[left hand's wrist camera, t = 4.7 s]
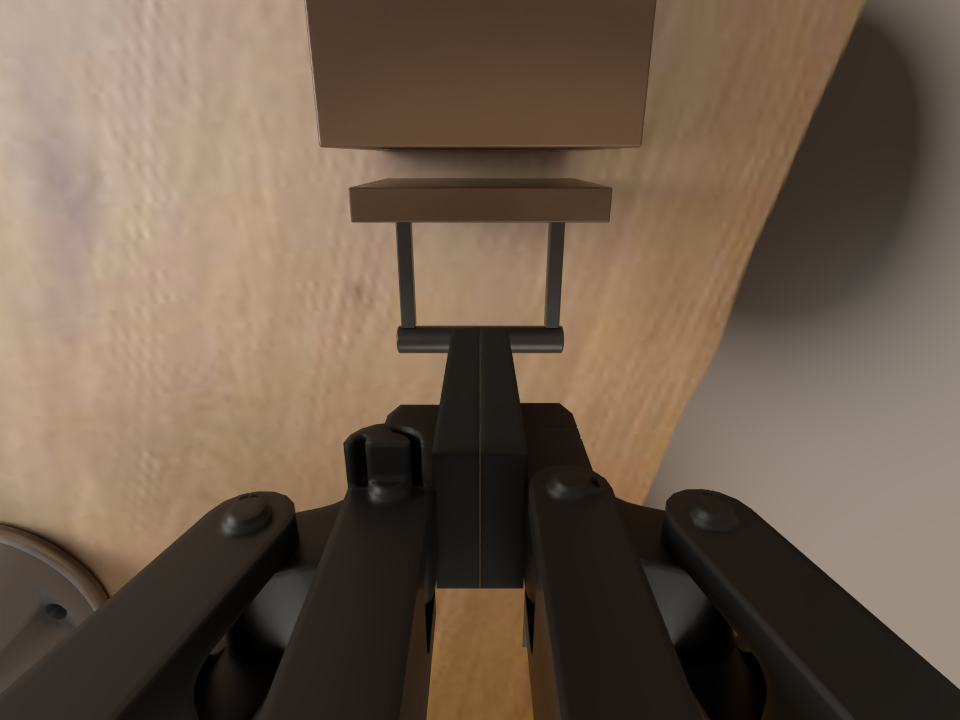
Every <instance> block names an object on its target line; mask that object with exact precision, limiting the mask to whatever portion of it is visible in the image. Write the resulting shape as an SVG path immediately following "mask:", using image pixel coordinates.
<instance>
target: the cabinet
mask: <svg viewBox="0 0 960 720" xmlns="http://www.w3.org/2000/svg"><path fill="white" fill-rule="evenodd" d="M304 1H305V10H306V20H307V30H308V40H309V49H310V59H311V69H312V78H313V88H314V98H315V108H316V117H317V127H318V137H319V145H320V146H321V147H326V148H343V149H361V150H599V149H617V148H634V147H640V146H641V144H642V135H643V125H644V115H645V106H646V96H647V86H648V77H649V67H650V57H651V48H652V38H653V28H654V18H655V9H656V0H304Z"/></svg>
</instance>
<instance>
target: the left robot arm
mask: <svg viewBox="0 0 960 720" xmlns="http://www.w3.org/2000/svg"><path fill="white" fill-rule="evenodd" d="M343 444H344V454H345V463H346V472H347V482H348V490H347V493H346V495H345V498H344V500H342V501H340V502H337V503H335V504H332V505H329V506H325V507H322V508H317V509H312V510H307V511H303V512H298V513H295V507H294V503H293V502H292V501H291V500H290V499H289V498H288V497H287V496H285V495H282V494H279V493H276V492H251V493H246V494H242V495H239V496H237V497H234V498H232V499H229V500H227V501H224V502H222V503H221V504H220V505H218V506H217V507H215V508H214V509H212V510H211V511H209V512H208V513H207V514H206V515H205V516H203V517H202V518H201V519H200V520H199V521H198V522H197V523H195V524H194V525H193V526H192V527H191V528H190V529H189V530H187V531H186V532H185V533H184V534H183V535H182V536H181V537H179V538H178V539H177V540H176V541H175V542H174V543H172V544H171V545H170V546H169V547H168V548H167V549H166V550H164V551H163V552H162V553H161V554H160V555H159V556H158V557H156V558H155V559H154V560H153V561H152V562H151V563H150V564H148V565H147V566H146V567H145V568H144V569H143V570H142V571H140V572H139V573H138V574H137V575H136V576H135V577H134V578H132V579H131V580H130V581H129V582H128V583H127V584H126V585H124V586H123V587H122V588H121V589H120V590H119V591H118V592H116V593H115V594H114V595H113V596H112V597H111V598H110V599H108V597H107V595H106V594H105V592H104V590H103V589H102V587H101V586H100V584H99V583H98V582H97V581H96V579H95V578H94V577H93V576H92V575H91V574H90V573H89V571H88V570H87V569H85V568H84V567H83V566H82V565H81V564H80V563H79V562H78V561H76V560H75V559H74V558H73V557H71V556H70V555H69V554H67V553H66V552H64V551H63V550H61V549H60V548H58V547H56V546H55V545H53V544H51V543H49V542H48V541H46V540H44V539H42V538H40V537H37V536H35V535H33V534H30V533H28V532H25V531H22V530H19V529H16V528H13V527H9V526H5V525H1V524H0V720H426V717H427V706H428V695H429V684H430V673H431V662H432V651H433V640H434V629H435V618H436V602H435V585H436V582H437V588H523V582H524V583H525V602H524V627H523V647H527V650H528V661H529V672H530V683H531V694H532V705H533V716H534V720H960V689H959V688H957V687H956V686H955V685H954V684H953V683H952V682H950V681H949V680H948V679H947V678H946V677H945V676H943V675H942V674H941V673H940V672H939V671H938V670H937V669H935V668H934V667H933V666H932V665H931V664H930V663H929V662H927V661H926V660H925V659H924V658H923V657H922V656H920V655H919V654H918V653H917V652H916V651H915V650H914V649H912V648H911V647H910V646H909V645H908V644H907V643H905V642H904V641H903V640H902V639H901V638H900V637H899V636H897V635H896V634H895V633H894V632H893V631H892V630H890V629H889V628H888V627H887V626H886V625H885V624H883V623H882V622H881V621H880V620H879V619H878V618H877V617H875V616H874V615H873V614H872V613H871V612H870V611H868V610H867V609H866V608H865V607H864V606H863V605H862V604H860V603H859V602H858V601H857V600H856V599H855V598H854V597H852V596H851V595H850V594H849V593H848V592H847V591H845V590H844V589H843V588H842V587H841V586H840V585H839V584H837V583H836V582H835V581H834V580H833V579H832V578H830V577H829V576H828V575H827V574H826V573H825V572H823V571H822V570H821V569H820V568H819V567H818V566H817V565H815V564H814V563H813V562H812V561H811V560H810V559H808V558H807V557H806V556H805V555H804V554H803V553H802V552H800V551H799V550H798V549H797V548H796V547H795V546H793V545H792V544H791V543H790V542H789V541H788V540H787V539H785V538H784V537H783V536H782V535H781V534H780V533H778V532H777V531H776V530H775V529H774V528H773V527H771V526H770V525H769V524H768V523H767V522H766V521H765V520H763V519H762V518H761V517H760V516H759V515H758V514H757V513H755V512H754V511H753V510H752V509H751V508H749V507H748V506H746V505H745V504H743V503H742V502H740V501H739V500H737V499H735V498H732V497H730V496H727V495H725V494H722V493H720V492H716V491H710V490H704V489H688V490H683V491H680V492H677V493H674V494H673V495H672V496H671V497H670V498H669V499H668V500H667V501H666V507H665V511H663V510H658V509H654V508H649V507H644V506H639V505H636V504H632V503H628V502H626V501H623V500H621V499H619V498H616V497H615V495H614V492H613V489H612V487H611V486H610V485H609V483H608V482H607V480H606V479H605V478H603V477H602V476H600V475H599V474H597V473H596V472H594V471H593V470H592V467H591V464H590V461H589V459H588V456H587V453H586V450H585V448H584V445H583V442H582V439H580V434H579V431H578V428H577V425H576V423H575V420H574V417H573V414H572V413H571V412H570V411H568V410H567V409H566V408H565V407H563V406H562V405H561V404H560V403H520V400H519V393H518V387H517V381H516V375H515V369H514V363H513V357H512V350H511V344H510V338H509V332H508V328H452V332H451V338H450V344H449V350H448V357H447V363H446V369H445V375H444V381H443V387H442V393H441V400H440V405H400V406H399V407H398V408H396V409H395V410H394V411H393V412H391V413H390V414H389V415H388V416H387V419H386V422H385V424H376V425H372V426H369V427H365V428H362V429H360V430H358V431H357V432H355V433H353V434H351V435H350V436H349V437H348V438H347V439H346V441H345V442H344V443H343Z"/></svg>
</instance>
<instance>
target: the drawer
mask: <svg viewBox="0 0 960 720" xmlns="http://www.w3.org/2000/svg"><path fill="white" fill-rule="evenodd" d="M611 198H612V188H611V187H607V186H602V185H598V184H594V183H590V182H586V181H582V180H577V179H573V178H387V179H383V180H379V181H375V182H371V183H367V184H362V185H358V186H354V187H350V188H349V201H350V212H351V221H352V222H396V238H397V256H398V273H399V291H400V308H401V326H399V327H398V329H397V349H398V352H399V353H448V350H449V344H450V338H451V332H452V328H508V332H509V338H510V344H511V350H512V353H562V351H563V346H564V332H563V328H562V326H559V319H560V302H561V284H562V267H563V249H564V232H565V222H609V221H610V209H611ZM412 222H549V229H548V251H547V273H546V294H545V316H544V324H545V326H416V304H415V282H414V261H413V239H412Z"/></svg>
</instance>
